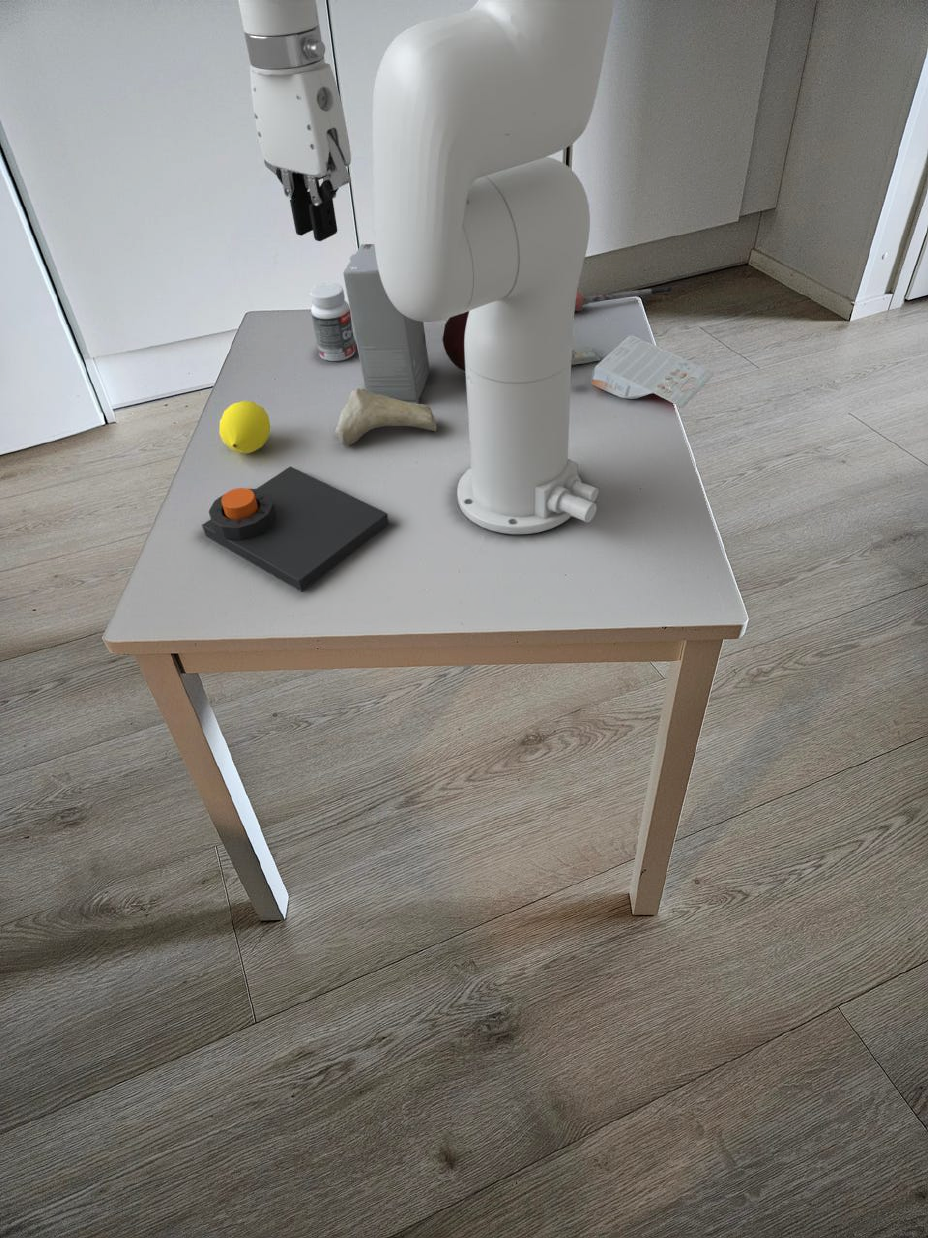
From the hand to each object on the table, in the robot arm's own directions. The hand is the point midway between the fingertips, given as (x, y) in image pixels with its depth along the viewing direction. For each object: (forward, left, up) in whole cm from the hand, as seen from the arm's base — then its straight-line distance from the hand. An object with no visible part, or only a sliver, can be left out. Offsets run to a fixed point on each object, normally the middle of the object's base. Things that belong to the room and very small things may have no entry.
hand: (316, 232), depth 101 cm
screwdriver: (-21, -26, -14) cm, 36 cm away
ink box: (-31, -15, -13) cm, 37 cm away
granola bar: (-25, -15, -14) cm, 33 cm away
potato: (-20, -7, -15) cm, 26 cm away
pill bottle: (0, 0, -15) cm, 15 cm away
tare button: (-18, +31, -13) cm, 38 cm away
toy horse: (-28, -13, -15) cm, 34 cm away
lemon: (-7, +21, -15) cm, 27 cm away
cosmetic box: (-12, +2, -15) cm, 19 cm away
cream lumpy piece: (-18, +10, -15) cm, 26 cm away
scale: (-22, +28, -15) cm, 39 cm away
